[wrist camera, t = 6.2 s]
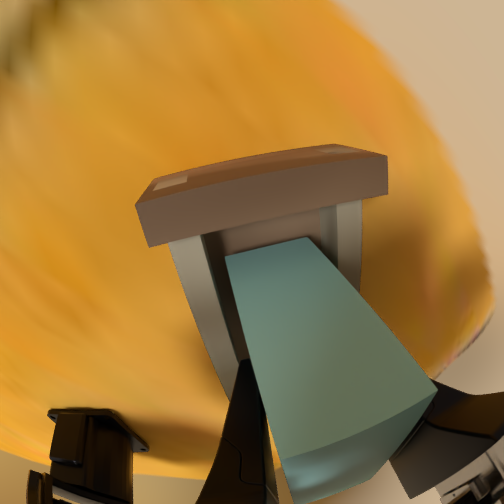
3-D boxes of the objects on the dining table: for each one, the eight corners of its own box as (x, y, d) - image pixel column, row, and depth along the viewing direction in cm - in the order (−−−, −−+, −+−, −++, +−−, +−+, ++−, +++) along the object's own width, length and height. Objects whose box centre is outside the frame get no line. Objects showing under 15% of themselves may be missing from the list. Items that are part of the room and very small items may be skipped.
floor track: (338, 342, 15) (363, 385, 12) (221, 376, 14) (229, 426, 11) (334, 143, 10) (387, 155, 7) (154, 178, 9) (134, 204, 6)
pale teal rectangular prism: (316, 360, 13) (373, 477, 7) (256, 378, 13) (295, 506, 7) (310, 235, 10) (443, 385, 4) (224, 256, 9) (280, 459, 3)
